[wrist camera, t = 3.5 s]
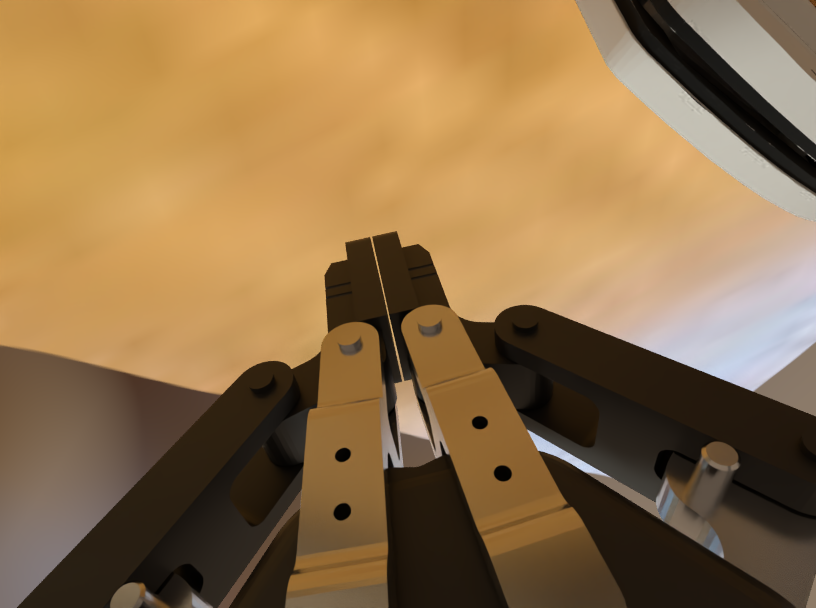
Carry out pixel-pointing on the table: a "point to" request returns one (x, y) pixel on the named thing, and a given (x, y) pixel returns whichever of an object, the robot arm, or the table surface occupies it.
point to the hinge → (725, 82)
